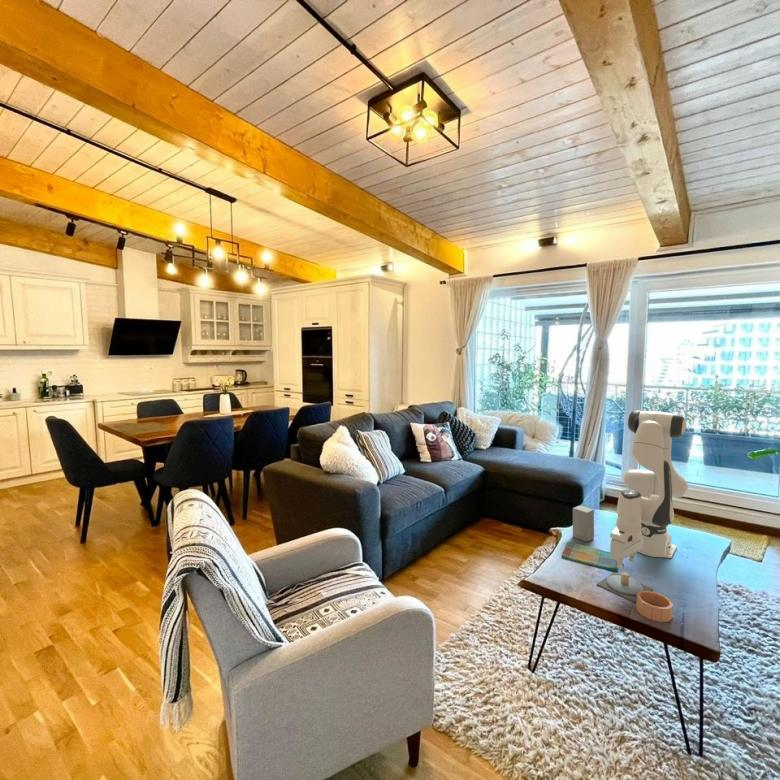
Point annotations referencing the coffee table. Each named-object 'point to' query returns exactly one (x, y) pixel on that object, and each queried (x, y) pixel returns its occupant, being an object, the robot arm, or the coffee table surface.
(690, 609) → the coffee table surface
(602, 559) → the dish towel
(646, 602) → the bowl
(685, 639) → the coffee table surface
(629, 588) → the lid
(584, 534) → the skincare box
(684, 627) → the coffee table surface
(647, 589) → the mat
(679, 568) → the coffee table surface
